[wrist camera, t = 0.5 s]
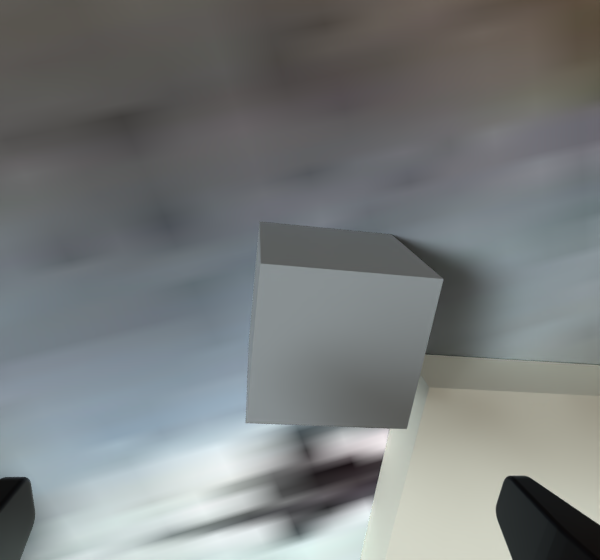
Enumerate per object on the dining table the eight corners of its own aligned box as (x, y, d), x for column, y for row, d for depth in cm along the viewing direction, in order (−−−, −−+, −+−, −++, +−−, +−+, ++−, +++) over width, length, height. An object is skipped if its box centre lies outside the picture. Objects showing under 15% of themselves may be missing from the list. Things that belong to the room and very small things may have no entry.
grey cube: (368, 349, 22) (406, 429, 16) (248, 342, 21) (245, 423, 16) (391, 234, 20) (443, 279, 14) (259, 221, 19) (260, 263, 14)
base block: (558, 574, 29) (590, 623, 26) (355, 576, 27) (367, 628, 25) (651, 368, 24) (704, 401, 21) (407, 353, 22) (429, 387, 19)
